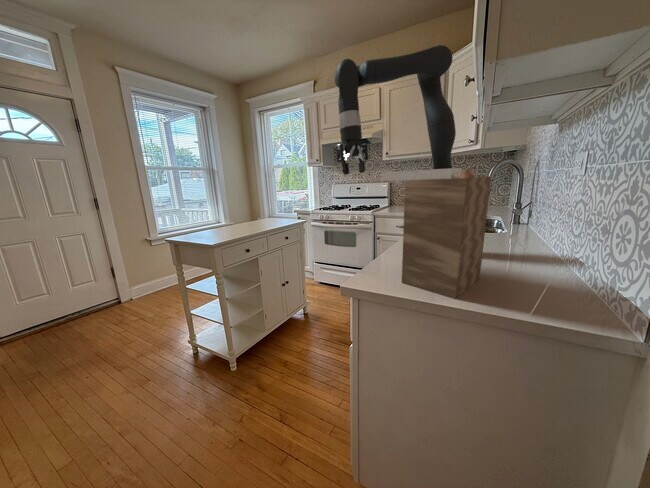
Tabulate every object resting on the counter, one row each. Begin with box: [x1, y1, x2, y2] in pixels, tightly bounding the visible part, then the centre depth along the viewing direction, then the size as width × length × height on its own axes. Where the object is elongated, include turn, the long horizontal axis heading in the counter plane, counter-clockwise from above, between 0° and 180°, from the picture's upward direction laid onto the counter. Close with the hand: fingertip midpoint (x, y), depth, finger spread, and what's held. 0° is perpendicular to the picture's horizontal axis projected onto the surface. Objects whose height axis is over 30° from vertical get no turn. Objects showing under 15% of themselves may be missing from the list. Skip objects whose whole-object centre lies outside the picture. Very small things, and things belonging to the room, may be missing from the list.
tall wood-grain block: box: [401, 168, 492, 300], centre depth 74 cm, size 18×16×33 cm
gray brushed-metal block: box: [380, 167, 463, 182], centre depth 73 cm, size 6×22×2 cm, turn 42°
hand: (354, 173), depth 94 cm, fingers open, 8 cm apart
